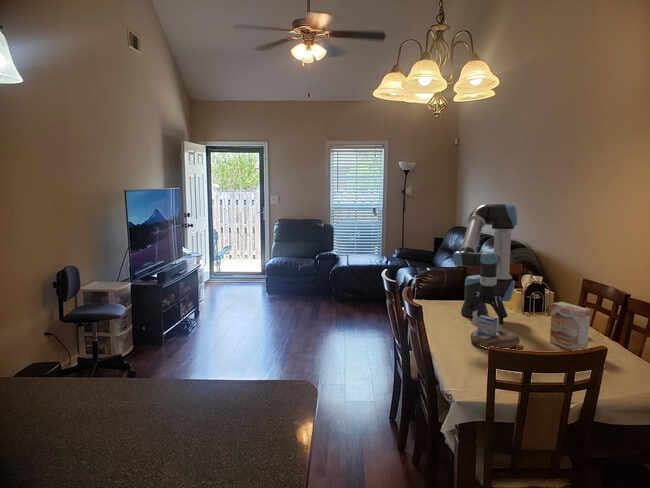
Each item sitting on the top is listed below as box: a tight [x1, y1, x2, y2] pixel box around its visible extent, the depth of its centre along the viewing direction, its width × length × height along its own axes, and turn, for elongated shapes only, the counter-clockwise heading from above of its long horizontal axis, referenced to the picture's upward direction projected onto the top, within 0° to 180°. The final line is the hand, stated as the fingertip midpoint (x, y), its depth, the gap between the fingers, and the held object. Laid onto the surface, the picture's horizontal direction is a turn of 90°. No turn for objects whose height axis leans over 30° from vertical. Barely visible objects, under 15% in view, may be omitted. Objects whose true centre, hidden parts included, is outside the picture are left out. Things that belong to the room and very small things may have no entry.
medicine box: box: [476, 315, 498, 337], centre depth 218 cm, size 8×4×9 cm, turn 46°
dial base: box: [487, 343, 525, 351], centre depth 215 cm, size 24×19×3 cm
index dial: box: [470, 329, 521, 349], centre depth 216 cm, size 22×22×7 cm
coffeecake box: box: [549, 301, 591, 351], centre depth 211 cm, size 15×7×20 cm, turn 23°
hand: (486, 327), depth 218 cm, fingers open, 13 cm apart
